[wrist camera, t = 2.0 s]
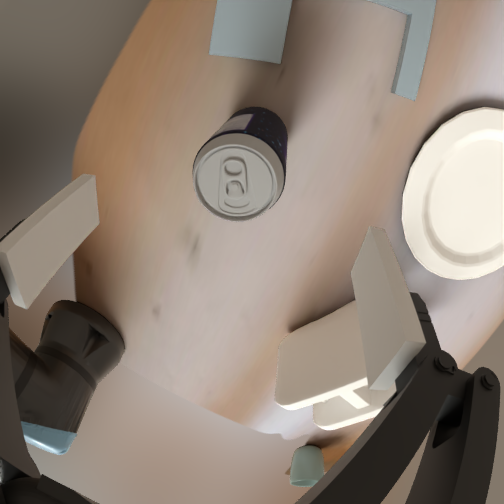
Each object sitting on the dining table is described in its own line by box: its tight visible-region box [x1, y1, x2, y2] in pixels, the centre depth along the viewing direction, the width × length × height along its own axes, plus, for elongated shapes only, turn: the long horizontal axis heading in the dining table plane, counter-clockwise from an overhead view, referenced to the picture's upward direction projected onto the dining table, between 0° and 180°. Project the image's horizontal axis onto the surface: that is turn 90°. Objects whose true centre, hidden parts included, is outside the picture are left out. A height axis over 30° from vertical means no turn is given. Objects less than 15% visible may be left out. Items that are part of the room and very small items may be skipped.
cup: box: [290, 445, 324, 487], centre depth 62 cm, size 8×8×10 cm
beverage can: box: [193, 107, 288, 222], centre depth 23 cm, size 6×6×12 cm
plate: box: [401, 107, 504, 280], centre depth 27 cm, size 21×21×2 cm
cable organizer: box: [275, 300, 397, 430], centre depth 36 cm, size 15×11×12 cm
